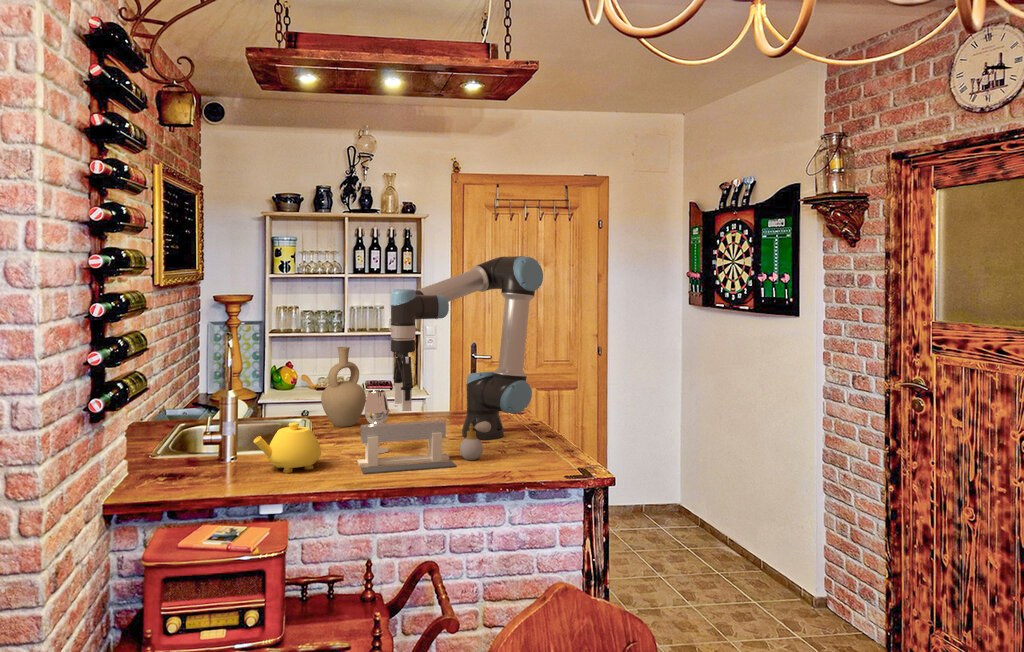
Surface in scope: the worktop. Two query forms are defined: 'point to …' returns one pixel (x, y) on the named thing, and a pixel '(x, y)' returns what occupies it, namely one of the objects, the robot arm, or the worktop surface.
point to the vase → (343, 394)
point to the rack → (433, 456)
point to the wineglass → (377, 410)
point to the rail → (403, 431)
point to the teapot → (291, 448)
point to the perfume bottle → (473, 441)
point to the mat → (407, 467)
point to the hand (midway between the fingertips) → (402, 407)
